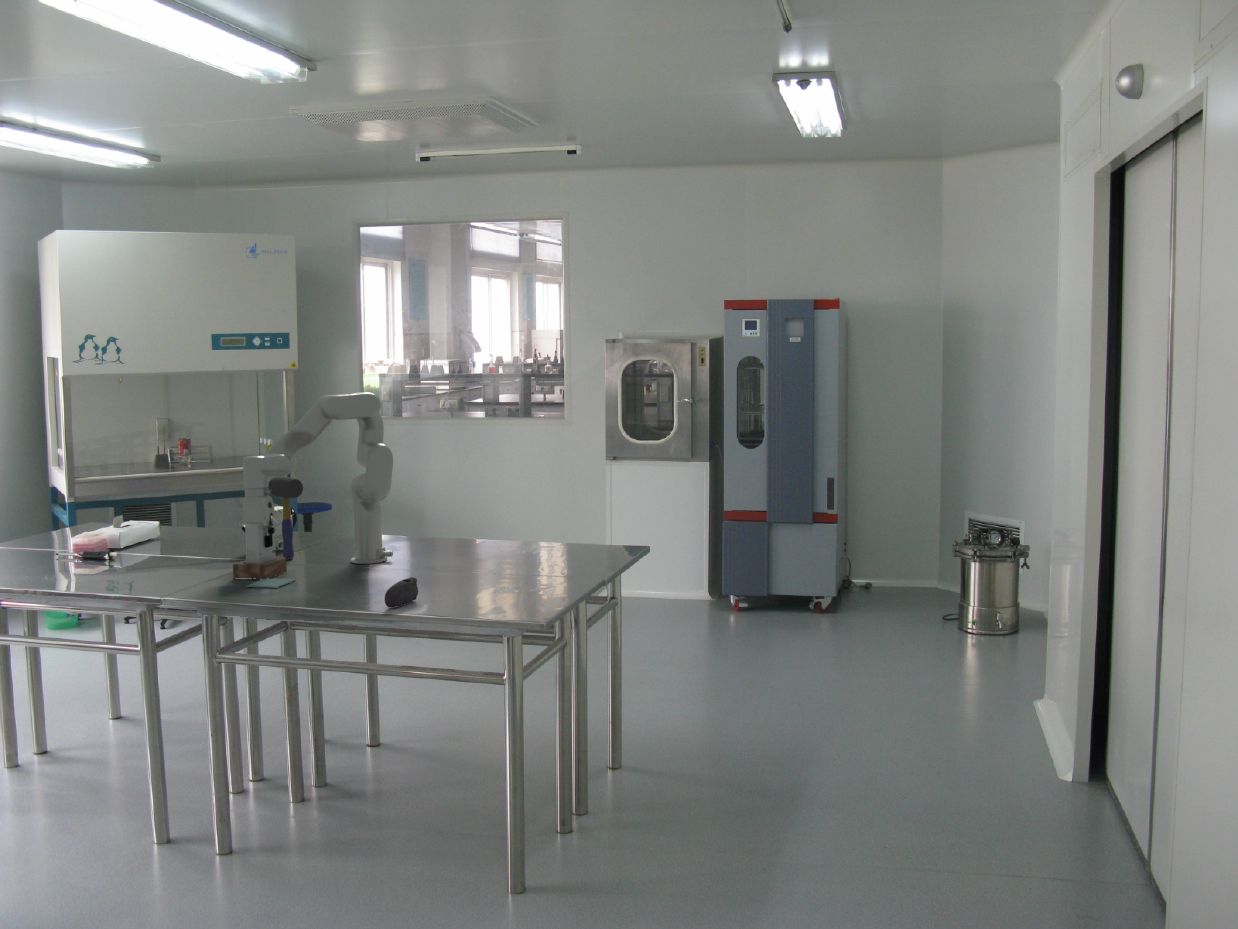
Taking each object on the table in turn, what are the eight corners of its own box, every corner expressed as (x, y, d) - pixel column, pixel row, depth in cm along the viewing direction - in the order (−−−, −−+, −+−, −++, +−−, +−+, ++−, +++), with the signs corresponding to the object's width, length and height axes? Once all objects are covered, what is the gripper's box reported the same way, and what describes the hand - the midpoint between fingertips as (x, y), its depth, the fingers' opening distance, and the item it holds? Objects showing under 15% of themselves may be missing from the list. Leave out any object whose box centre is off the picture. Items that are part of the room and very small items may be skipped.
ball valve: (261, 555, 369) (259, 507, 367) (247, 553, 374) (244, 506, 372) (301, 547, 384) (299, 502, 382) (286, 545, 389) (284, 500, 387)
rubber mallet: (308, 559, 359) (304, 476, 356) (290, 562, 353) (286, 478, 350) (286, 556, 366) (283, 475, 363) (269, 559, 360) (265, 477, 357)
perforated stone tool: (393, 612, 278) (392, 587, 277) (377, 610, 280) (376, 586, 279) (423, 600, 292) (423, 577, 291) (408, 599, 294) (407, 575, 293)
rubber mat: (295, 581, 321) (295, 579, 321) (278, 588, 310) (277, 586, 310) (264, 580, 323) (263, 578, 323) (245, 587, 312) (245, 585, 312)
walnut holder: (286, 571, 337) (286, 557, 336) (265, 580, 324) (265, 564, 323) (255, 571, 339) (254, 556, 338) (233, 579, 326) (232, 564, 325)
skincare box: (259, 569, 326) (258, 525, 325) (244, 567, 329) (243, 523, 327) (276, 564, 334) (276, 521, 333) (262, 563, 336) (261, 519, 335)
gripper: (286, 492, 330) (289, 545, 331) (242, 491, 335) (245, 543, 337) (271, 495, 323) (275, 549, 324) (227, 494, 328) (230, 547, 330)
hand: (260, 546), depth 330 cm, fingers closed on skincare box, 6 cm apart
